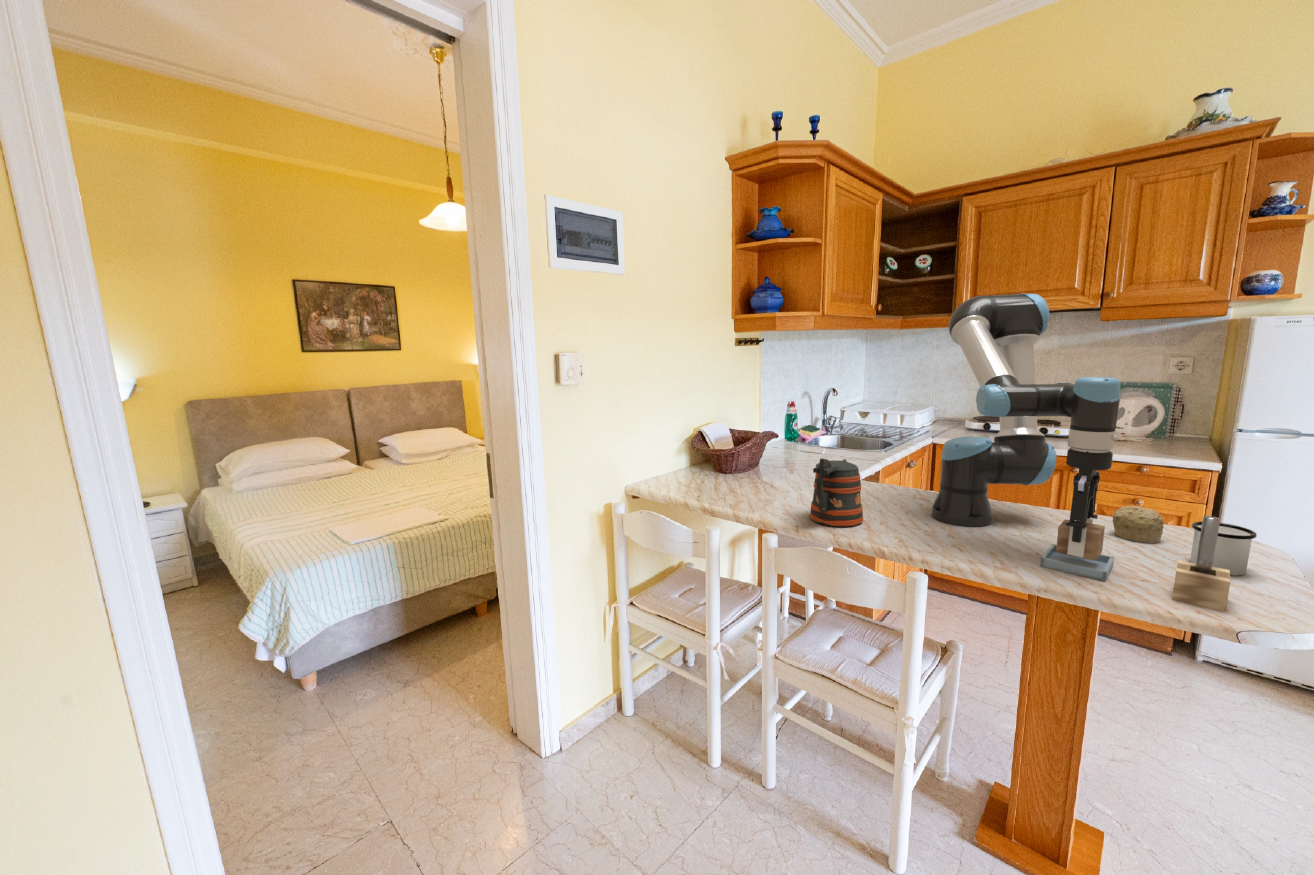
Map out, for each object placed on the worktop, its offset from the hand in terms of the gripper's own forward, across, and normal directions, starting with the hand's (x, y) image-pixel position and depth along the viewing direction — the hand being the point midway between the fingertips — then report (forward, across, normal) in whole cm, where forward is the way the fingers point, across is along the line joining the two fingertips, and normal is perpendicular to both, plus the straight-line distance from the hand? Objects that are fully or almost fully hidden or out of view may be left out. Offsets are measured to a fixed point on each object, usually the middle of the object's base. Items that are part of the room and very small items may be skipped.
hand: (1078, 550), depth 114 cm
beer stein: (+4, -9, +54) cm, 55 cm away
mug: (+4, +20, -21) cm, 29 cm away
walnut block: (0, 0, 0) cm, 0 cm away
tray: (+4, 0, 0) cm, 4 cm away
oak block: (+4, -3, -19) cm, 20 cm away
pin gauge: (+3, -3, -19) cm, 19 cm away
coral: (+4, +31, -7) cm, 32 cm away
